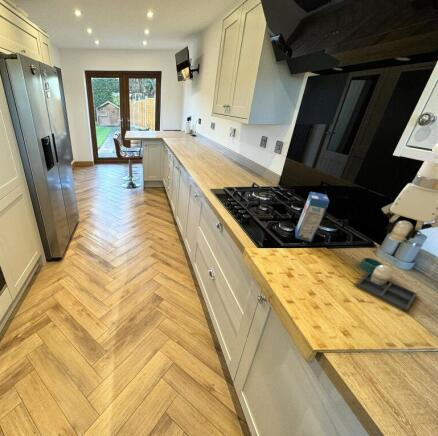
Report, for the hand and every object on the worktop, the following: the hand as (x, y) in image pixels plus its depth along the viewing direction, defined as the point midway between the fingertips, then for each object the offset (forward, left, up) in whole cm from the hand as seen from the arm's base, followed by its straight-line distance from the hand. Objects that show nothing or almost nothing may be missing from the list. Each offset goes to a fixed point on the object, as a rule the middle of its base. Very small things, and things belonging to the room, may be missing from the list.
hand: (398, 235), depth 79 cm
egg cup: (+2, -3, -17) cm, 17 cm away
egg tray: (-5, +8, -17) cm, 20 cm away
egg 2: (0, 0, -2) cm, 2 cm away
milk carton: (+28, -7, -17) cm, 34 cm away
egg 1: (-2, +5, -17) cm, 17 cm away
